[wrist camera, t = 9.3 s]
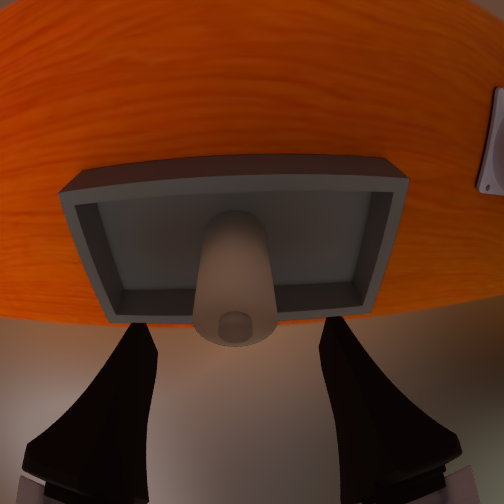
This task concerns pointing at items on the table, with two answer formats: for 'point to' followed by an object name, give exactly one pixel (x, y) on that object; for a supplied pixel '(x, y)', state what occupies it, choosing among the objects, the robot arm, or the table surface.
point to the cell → (235, 282)
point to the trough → (245, 199)
